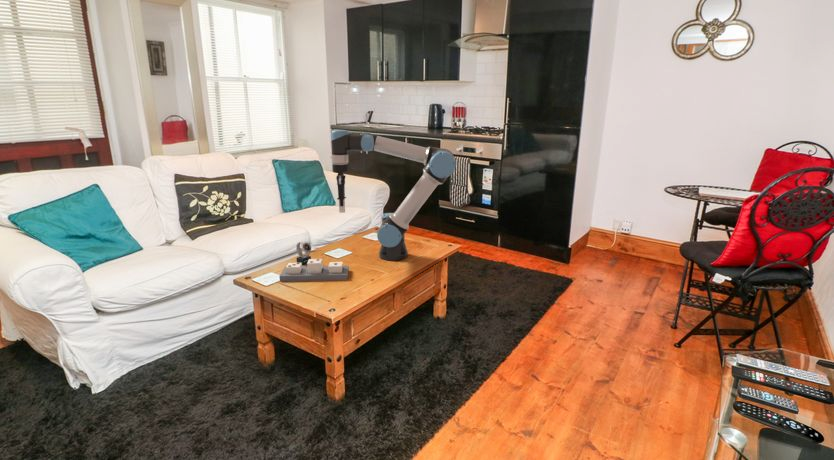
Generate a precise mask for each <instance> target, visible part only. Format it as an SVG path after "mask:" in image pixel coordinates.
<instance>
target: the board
mask: <svg viewBox="0 0 834 460" xmlns="http://www.w3.org/2000/svg"><path fill="white" fill-rule="evenodd" d="M328 266H329V265H322V267H323V269H322V272H321V273H309V274H308V271H307V265H306V266H305V265H302V272H301V274H286V266H284V268H283V269H282V271H281V272H280V274H279V282H305V281H307V282H308V281H309V282H310V281H311V282H312V281H313V282H314V281H347V280H348V278H349V273H350V272H349V271H350V266H349V265H343V273H329V269H328Z"/></svg>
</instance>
